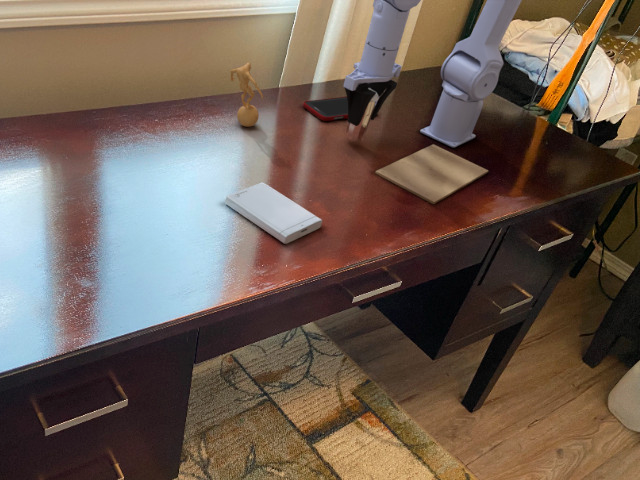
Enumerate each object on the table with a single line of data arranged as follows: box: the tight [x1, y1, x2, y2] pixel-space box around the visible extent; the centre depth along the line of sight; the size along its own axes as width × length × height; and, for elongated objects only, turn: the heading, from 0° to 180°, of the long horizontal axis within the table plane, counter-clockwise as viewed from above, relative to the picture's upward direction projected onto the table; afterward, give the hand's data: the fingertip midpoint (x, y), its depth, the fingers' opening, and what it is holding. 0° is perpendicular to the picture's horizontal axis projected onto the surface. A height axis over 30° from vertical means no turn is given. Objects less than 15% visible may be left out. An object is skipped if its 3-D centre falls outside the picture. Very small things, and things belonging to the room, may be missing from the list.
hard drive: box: [224, 181, 323, 245], centre depth 91 cm, size 2×8×12 cm
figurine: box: [230, 62, 264, 128], centre depth 110 cm, size 8×6×12 cm
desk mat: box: [374, 143, 489, 205], centre depth 110 cm, size 20×12×1 cm, turn 136°
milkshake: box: [345, 88, 387, 142], centre depth 111 cm, size 4×5×10 cm
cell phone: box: [302, 96, 348, 122], centre depth 125 cm, size 8×15×1 cm, turn 121°
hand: (361, 120), depth 112 cm, fingers closed on milkshake, 4 cm apart
